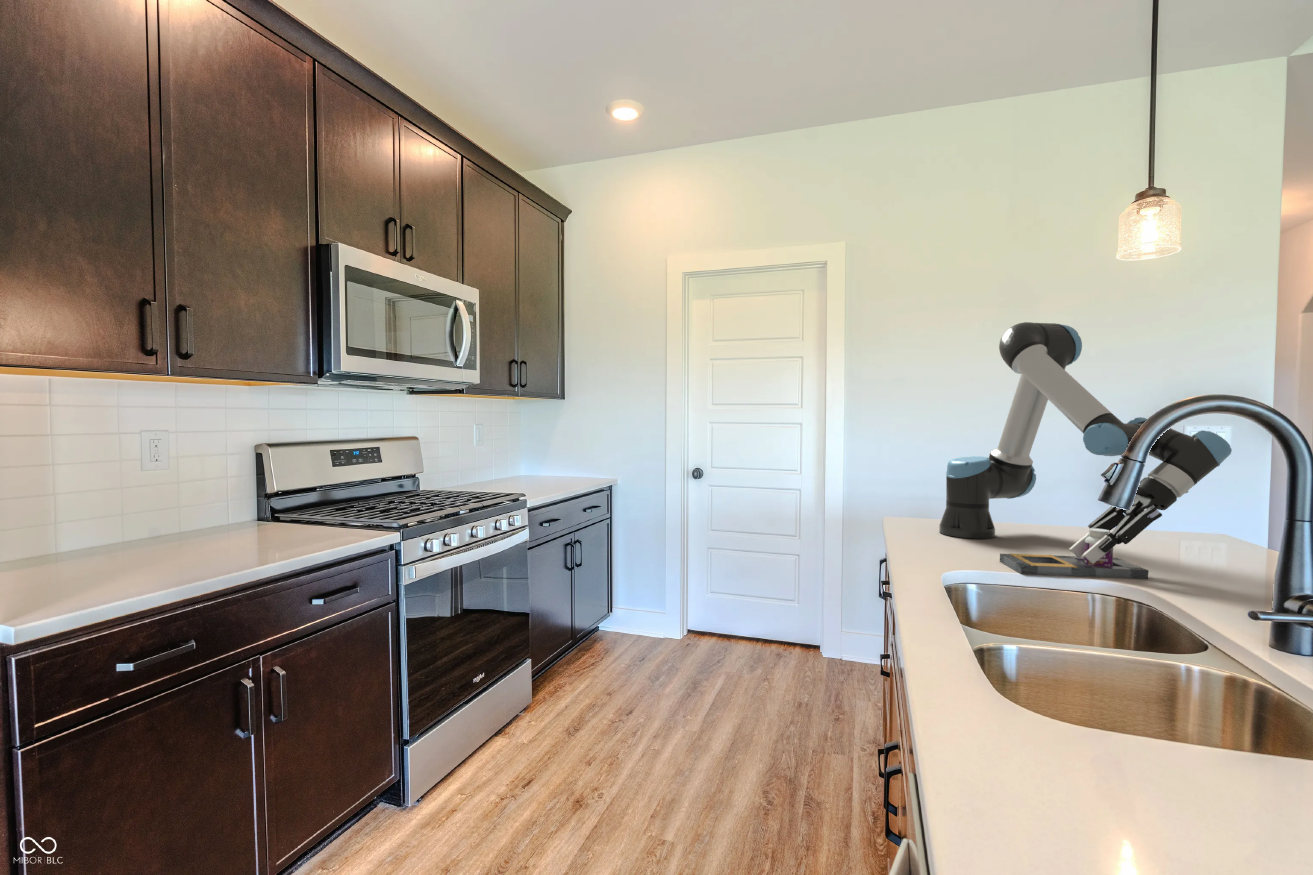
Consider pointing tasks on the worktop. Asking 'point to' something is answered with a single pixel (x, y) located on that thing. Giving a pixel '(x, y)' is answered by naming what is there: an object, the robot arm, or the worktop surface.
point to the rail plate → (1070, 566)
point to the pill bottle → (1093, 539)
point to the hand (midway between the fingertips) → (1081, 555)
